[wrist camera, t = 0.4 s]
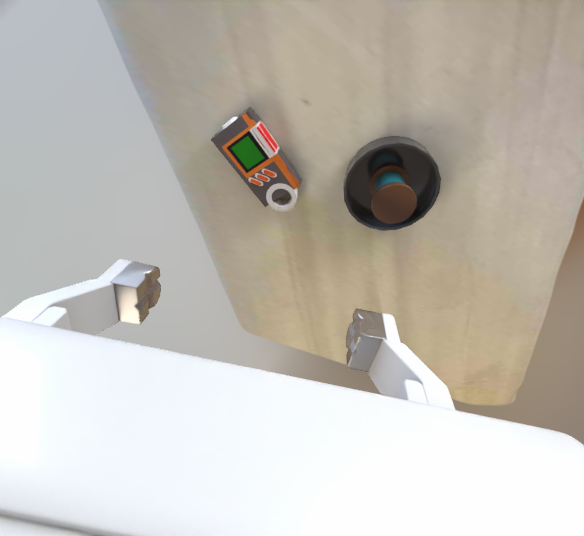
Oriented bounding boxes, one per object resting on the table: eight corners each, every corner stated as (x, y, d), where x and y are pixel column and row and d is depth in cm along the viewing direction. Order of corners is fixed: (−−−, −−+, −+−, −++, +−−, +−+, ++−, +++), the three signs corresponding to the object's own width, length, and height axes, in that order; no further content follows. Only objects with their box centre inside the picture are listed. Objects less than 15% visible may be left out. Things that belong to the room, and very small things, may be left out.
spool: (375, 160, 46) (379, 180, 40) (415, 168, 46) (424, 189, 40) (364, 196, 49) (366, 219, 44) (400, 203, 49) (407, 227, 44)
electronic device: (273, 219, 52) (208, 138, 44) (276, 209, 54) (214, 131, 46) (309, 199, 49) (245, 108, 41) (310, 190, 51) (250, 102, 44)
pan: (357, 127, 44) (357, 134, 41) (451, 146, 44) (457, 154, 41) (335, 210, 52) (334, 220, 49) (414, 226, 52) (418, 237, 49)
